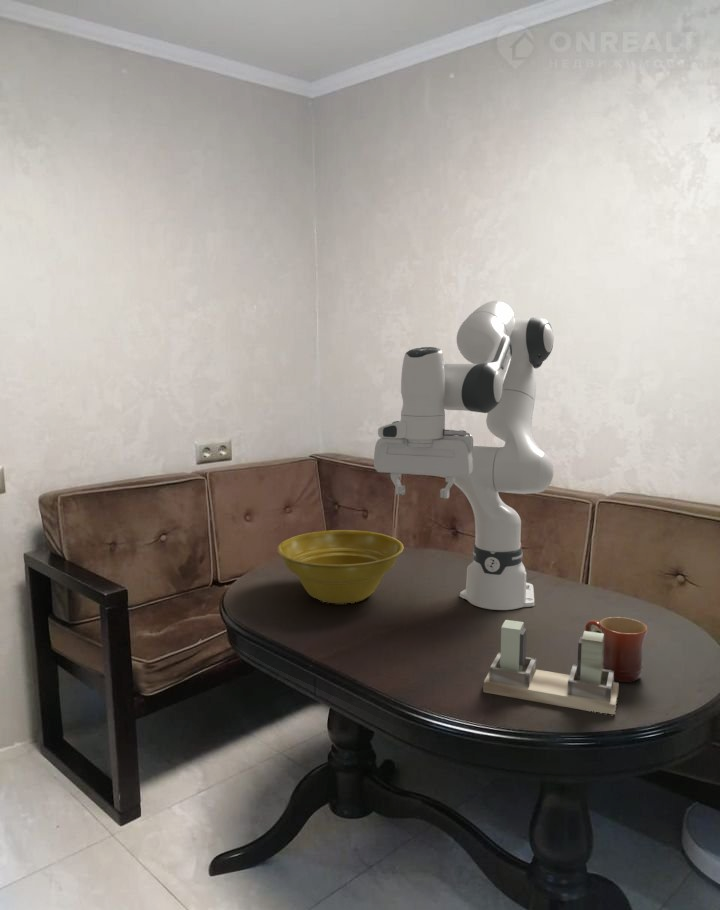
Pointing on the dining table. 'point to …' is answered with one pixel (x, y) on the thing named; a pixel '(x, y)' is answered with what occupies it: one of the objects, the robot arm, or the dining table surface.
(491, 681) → the cream peg holder
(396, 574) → the dining table surface
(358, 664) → the dining table surface
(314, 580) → the planter bowl
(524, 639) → the block
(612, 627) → the mug
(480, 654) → the dining table surface
